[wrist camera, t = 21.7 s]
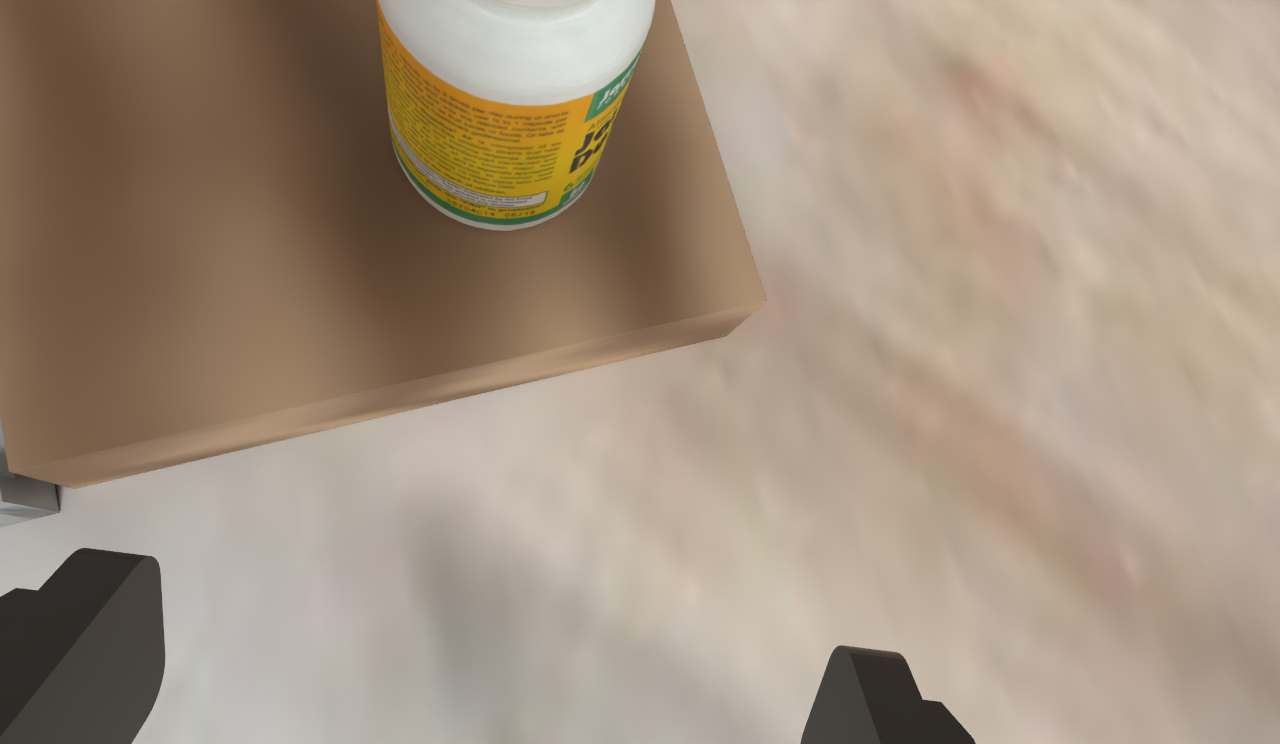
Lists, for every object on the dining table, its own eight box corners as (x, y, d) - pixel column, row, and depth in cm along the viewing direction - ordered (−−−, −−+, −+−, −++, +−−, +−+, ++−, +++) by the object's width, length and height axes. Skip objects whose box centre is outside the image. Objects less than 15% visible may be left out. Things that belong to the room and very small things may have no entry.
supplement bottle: (415, 27, 23) (400, -338, 14) (612, 79, 24) (717, -231, 15) (368, 211, 22) (317, -62, 12) (580, 258, 23) (675, 37, 13)
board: (619, -6, 29) (643, -83, 25) (726, 336, 27) (767, 300, 23) (1, 64, 24) (-70, -20, 21) (73, 488, 22) (8, 471, 19)
